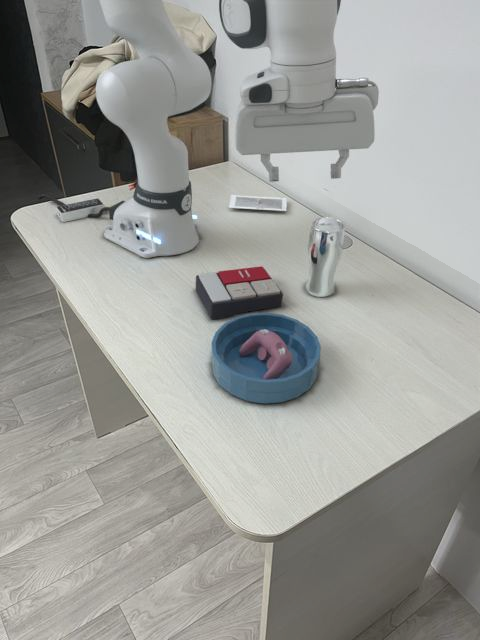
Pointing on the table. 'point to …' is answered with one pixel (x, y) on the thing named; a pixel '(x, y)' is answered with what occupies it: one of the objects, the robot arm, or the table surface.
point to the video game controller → (269, 352)
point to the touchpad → (258, 202)
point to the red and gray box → (237, 291)
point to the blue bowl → (248, 371)
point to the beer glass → (324, 254)
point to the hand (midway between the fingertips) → (304, 178)
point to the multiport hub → (79, 209)
